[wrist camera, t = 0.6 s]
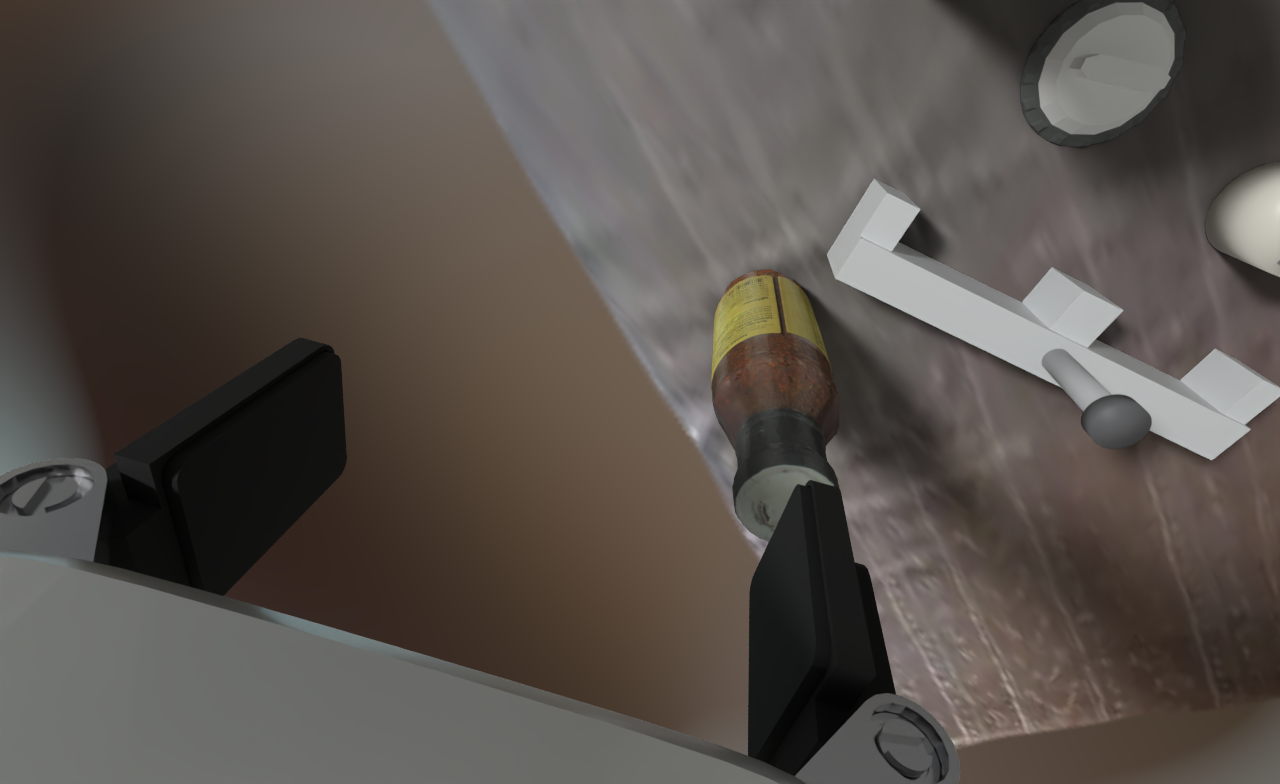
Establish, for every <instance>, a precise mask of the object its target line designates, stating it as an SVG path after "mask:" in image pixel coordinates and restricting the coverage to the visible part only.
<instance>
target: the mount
mask: <svg viewBox="0 0 1280 784" xmlns="http://www.w3.org/2000/svg"><path fill="white" fill-rule="evenodd" d="M920 210H921V209H920V208H919V207H918V206H917V205H916V204H915V203H913V202H912V201H911V200H910V199H909V198H908V197H907V196H906V195H905V194H904V193H902V192H900V191H898V190H896V189H894V188H892V187H890V186H888V185H886V184H884V183H882V182H880V181H878V180H876V179H873V181H872V183H871V184H870V186H869V187H868V189H867V191H866V192H865V194H864V195H863V197H862V199H861V200H860V202H859V203H858V205H857V207H856V208H855V210H854V212H853V213H852V215H851V216H850V218H849V220H848V221H847V223H846V224H845V226H844V228H843V229H842V231H841V232H840V234H839V236H838V237H837V239H836V240H835V242H834V244H833V245H832V247H831V248H830V250H829V252H828V253H827V257H828V259H829V262H830V265H831V268H832V271H833V274H834V277H835V278H836V279H838V280H840V281H842V282H844V283H846V284H848V285H850V286H852V287H854V288H856V289H858V290H860V291H862V292H865V293H867V294H869V295H871V296H873V297H875V298H877V299H879V300H881V301H883V302H885V303H887V304H889V305H891V306H893V307H896V308H898V309H900V310H902V311H904V312H906V313H908V314H910V315H912V316H914V317H916V318H918V319H920V320H922V321H924V322H927V323H929V324H931V325H933V326H935V327H937V328H939V329H941V330H943V331H945V332H947V333H949V334H951V335H953V336H955V337H958V338H960V339H962V340H964V341H966V342H968V343H970V344H972V345H974V346H976V347H978V348H980V349H982V350H984V351H986V352H989V353H991V354H993V355H995V356H997V357H999V358H1001V359H1003V360H1005V361H1007V362H1009V363H1011V364H1013V365H1015V366H1017V367H1020V368H1022V369H1024V370H1026V371H1028V372H1030V373H1032V374H1034V375H1036V376H1038V377H1040V378H1042V379H1044V380H1046V381H1048V382H1051V383H1053V384H1055V385H1057V386H1059V387H1061V388H1063V390H1064V391H1065V392H1066V393H1067V394H1068V395H1069V396H1070V397H1071V398H1072V400H1073V401H1074V402H1075V403H1076V404H1077V405H1078V406H1079V407H1080V408H1081V409H1082V411H1083V414H1082V416H1081V425H1082V427H1083V429H1084V430H1085V431H1086V432H1087V434H1088V435H1089V436H1090V437H1091V438H1092V439H1093V441H1094V442H1095V443H1096V444H1098V445H1099V446H1102V447H1104V448H1109V449H1119V448H1124V447H1128V446H1131V445H1133V444H1135V443H1137V442H1138V441H1140V440H1141V439H1143V438H1144V437H1145V436H1146V435H1147V433H1148V432H1149V430H1150V431H1152V432H1154V433H1156V434H1158V435H1160V436H1162V437H1164V438H1166V439H1168V440H1170V441H1173V442H1175V443H1177V444H1179V445H1181V446H1183V447H1185V448H1187V449H1189V450H1191V451H1193V452H1195V453H1197V454H1199V455H1201V456H1204V457H1206V458H1208V459H1210V460H1213V459H1214V458H1216V457H1217V456H1218V455H1219V454H1221V453H1222V452H1223V451H1224V450H1226V449H1227V448H1228V447H1229V446H1231V445H1232V444H1233V443H1235V442H1236V441H1237V440H1238V439H1240V438H1241V437H1242V436H1243V435H1245V434H1246V433H1247V432H1248V431H1250V430H1251V429H1250V428H1248V427H1247V426H1246V425H1245V424H1246V423H1247V422H1249V421H1250V420H1251V419H1252V418H1254V417H1255V416H1256V415H1257V414H1259V413H1260V412H1261V411H1262V410H1264V409H1265V408H1266V407H1267V406H1269V405H1270V404H1271V403H1272V402H1274V401H1275V400H1276V399H1277V398H1279V397H1280V387H1279V386H1277V385H1276V384H1274V383H1273V382H1271V381H1269V380H1268V379H1266V378H1265V377H1263V376H1262V375H1260V374H1259V373H1257V372H1256V371H1254V370H1252V369H1251V368H1249V367H1248V366H1246V365H1245V364H1243V363H1242V362H1240V361H1238V360H1237V359H1235V358H1233V357H1231V356H1229V355H1227V354H1225V353H1223V352H1221V351H1219V350H1217V349H1214V350H1213V351H1212V352H1211V353H1210V354H1209V355H1207V356H1206V357H1205V358H1204V359H1203V360H1202V361H1201V362H1200V363H1199V364H1197V365H1196V366H1195V367H1194V368H1193V369H1192V370H1191V371H1190V372H1189V373H1187V374H1186V375H1185V376H1184V377H1183V378H1182V379H1181V380H1178V379H1176V378H1174V377H1172V376H1170V375H1168V374H1166V373H1164V372H1162V371H1160V370H1158V369H1156V368H1154V367H1152V366H1150V365H1148V364H1146V363H1144V362H1141V361H1139V360H1137V359H1135V358H1133V357H1131V356H1129V355H1127V354H1125V353H1123V352H1121V351H1119V350H1117V349H1115V348H1113V347H1111V346H1109V345H1107V344H1105V343H1103V342H1101V341H1099V340H1097V339H1096V338H1097V337H1098V336H1099V335H1100V334H1101V333H1102V332H1103V331H1104V330H1105V329H1106V328H1107V327H1108V326H1109V325H1110V324H1111V323H1112V322H1113V321H1114V320H1115V319H1116V318H1117V317H1118V316H1119V315H1120V314H1121V313H1122V311H1123V310H1122V309H1121V308H1120V307H1118V306H1117V305H1115V304H1114V303H1112V302H1111V301H1110V300H1108V299H1107V298H1105V297H1104V296H1103V295H1101V294H1100V293H1098V292H1097V291H1096V290H1094V289H1093V288H1091V287H1090V286H1089V285H1087V284H1085V283H1083V282H1081V281H1079V280H1077V279H1075V278H1073V277H1071V276H1069V275H1067V274H1065V273H1063V272H1061V271H1059V270H1057V269H1055V268H1053V267H1052V268H1051V269H1050V270H1049V271H1048V272H1047V274H1046V275H1045V276H1044V277H1043V278H1042V279H1041V281H1040V282H1039V283H1038V284H1037V285H1036V286H1035V288H1034V289H1033V290H1032V291H1031V292H1030V293H1029V295H1028V296H1027V297H1026V298H1025V299H1024V300H1023V302H1020V301H1018V300H1016V299H1013V298H1011V297H1009V296H1007V295H1005V294H1003V293H1001V292H999V291H997V290H995V289H993V288H991V287H989V286H987V285H985V284H983V283H981V282H979V281H977V280H975V279H973V278H971V277H969V276H967V275H965V274H963V273H961V272H959V271H957V270H955V269H953V268H950V267H948V266H946V265H944V264H942V263H940V262H938V261H936V260H934V259H932V258H930V257H928V256H926V255H924V254H922V253H920V252H918V251H916V250H914V249H912V248H910V247H908V246H906V245H904V244H902V243H900V242H899V240H900V239H901V237H902V236H903V234H904V233H905V231H906V230H907V229H908V227H909V226H910V224H911V223H912V221H913V220H914V218H915V217H916V215H917V214H918V212H919V211H920Z"/></svg>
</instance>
